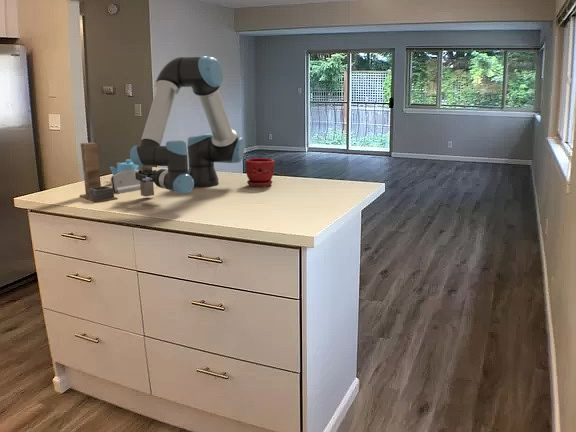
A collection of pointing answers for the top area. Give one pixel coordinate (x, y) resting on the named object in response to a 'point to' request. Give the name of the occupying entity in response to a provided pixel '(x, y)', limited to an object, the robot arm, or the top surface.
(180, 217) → the top surface
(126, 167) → the teapot
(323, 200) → the top surface
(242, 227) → the top surface
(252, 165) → the plant pot
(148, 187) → the grey rectangular block
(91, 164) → the dark brown bookend
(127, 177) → the hinge
